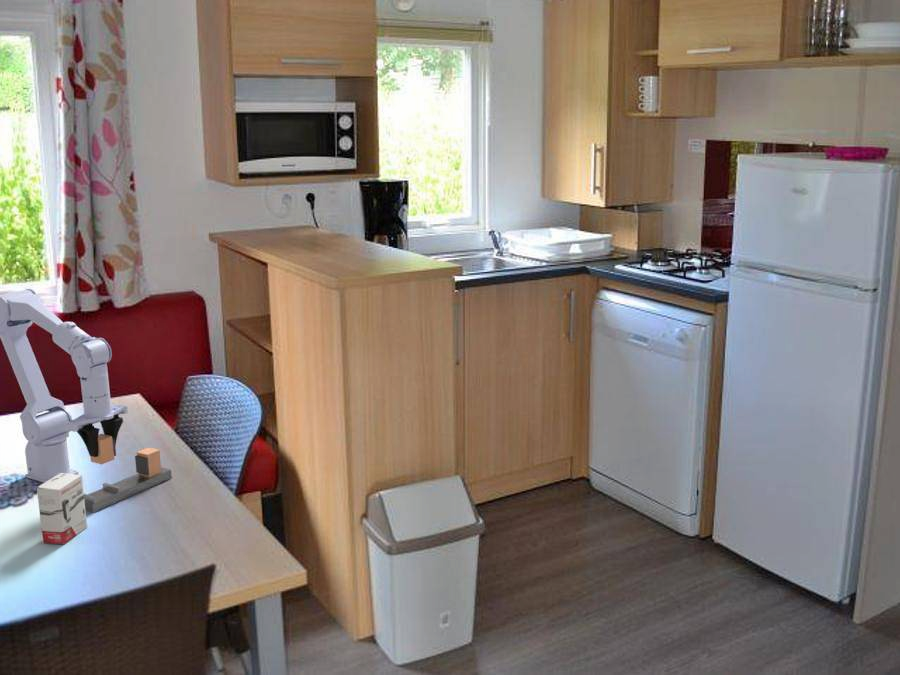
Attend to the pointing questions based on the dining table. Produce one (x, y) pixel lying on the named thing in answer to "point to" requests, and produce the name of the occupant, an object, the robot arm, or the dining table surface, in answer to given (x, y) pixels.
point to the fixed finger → (148, 462)
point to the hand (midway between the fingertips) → (102, 452)
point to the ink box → (62, 508)
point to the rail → (123, 490)
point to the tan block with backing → (105, 449)
